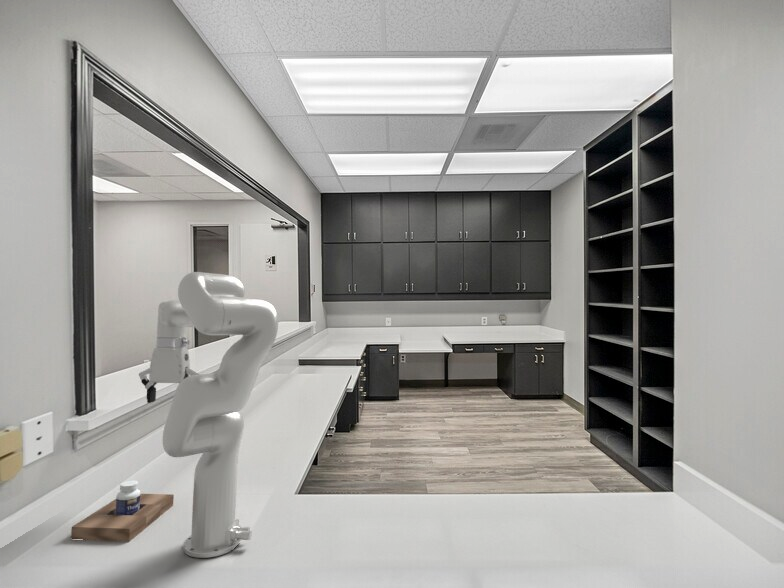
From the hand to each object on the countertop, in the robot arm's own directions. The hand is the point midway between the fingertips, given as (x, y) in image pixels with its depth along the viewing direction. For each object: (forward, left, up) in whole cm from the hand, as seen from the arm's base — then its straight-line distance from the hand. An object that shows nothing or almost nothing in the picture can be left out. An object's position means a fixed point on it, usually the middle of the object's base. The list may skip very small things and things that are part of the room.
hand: (167, 402), depth 125 cm
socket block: (+3, +12, -28) cm, 31 cm away
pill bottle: (+3, +12, -29) cm, 31 cm away
